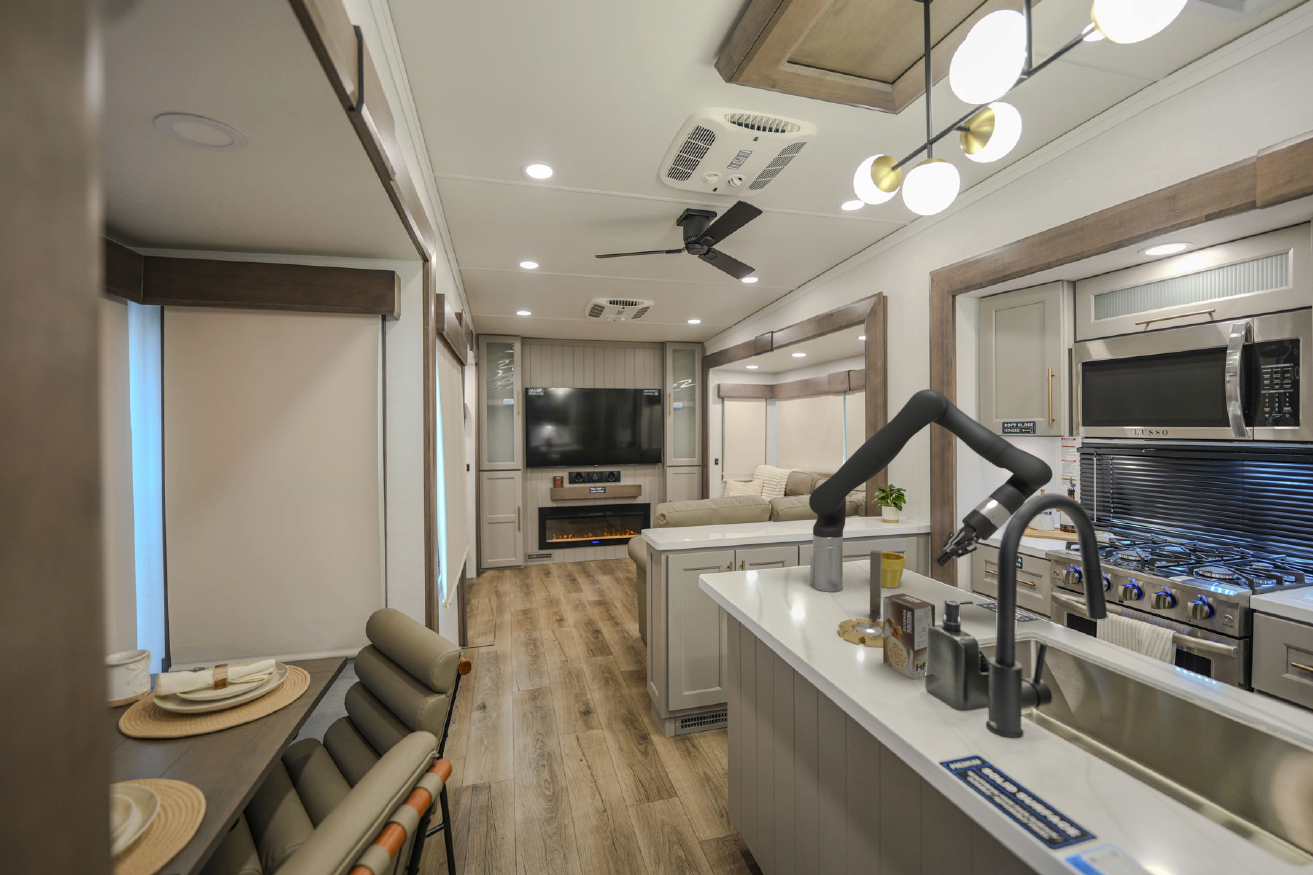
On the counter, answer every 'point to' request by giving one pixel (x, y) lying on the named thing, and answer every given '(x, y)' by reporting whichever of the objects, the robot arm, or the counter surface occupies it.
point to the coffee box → (906, 633)
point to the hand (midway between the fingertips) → (937, 563)
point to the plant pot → (892, 569)
